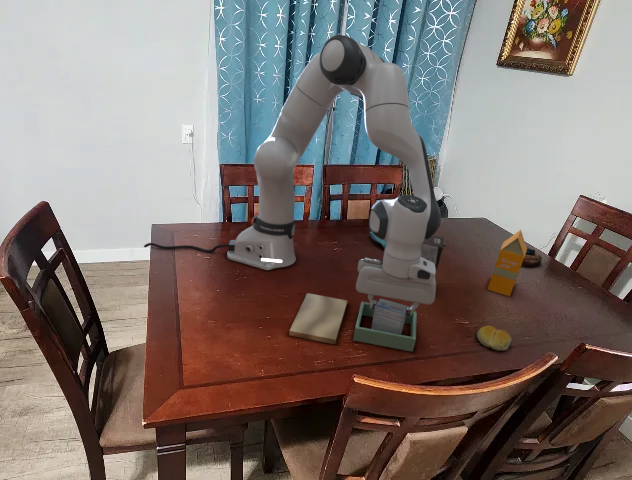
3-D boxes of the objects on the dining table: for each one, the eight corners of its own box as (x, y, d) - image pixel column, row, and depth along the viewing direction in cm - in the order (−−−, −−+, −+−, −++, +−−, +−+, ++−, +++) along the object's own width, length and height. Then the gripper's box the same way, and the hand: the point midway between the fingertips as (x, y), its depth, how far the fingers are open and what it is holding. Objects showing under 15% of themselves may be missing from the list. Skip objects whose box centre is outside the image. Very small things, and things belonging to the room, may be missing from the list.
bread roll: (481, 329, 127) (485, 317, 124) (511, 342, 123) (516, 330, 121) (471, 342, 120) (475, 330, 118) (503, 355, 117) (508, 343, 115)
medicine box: (402, 332, 120) (408, 305, 115) (398, 341, 116) (404, 313, 112) (374, 324, 122) (379, 297, 117) (370, 332, 118) (375, 305, 114)
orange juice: (513, 286, 153) (533, 232, 142) (509, 296, 146) (530, 240, 135) (490, 279, 155) (509, 226, 145) (486, 289, 148) (505, 234, 138)
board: (289, 335, 112) (289, 330, 112) (306, 297, 129) (307, 293, 128) (335, 344, 112) (335, 339, 111) (346, 304, 128) (347, 300, 128)
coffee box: (431, 294, 141) (443, 247, 132) (411, 289, 141) (422, 243, 133) (432, 281, 148) (443, 236, 140) (413, 277, 149) (423, 232, 140)
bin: (353, 340, 114) (355, 327, 112) (359, 313, 126) (361, 301, 123) (412, 351, 113) (415, 339, 111) (413, 323, 125) (416, 311, 122)
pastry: (524, 253, 180) (529, 240, 177) (543, 267, 171) (549, 253, 168) (502, 254, 177) (507, 240, 173) (520, 268, 167) (526, 254, 164)
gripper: (357, 261, 106) (350, 310, 114) (441, 276, 105) (429, 324, 112) (360, 251, 112) (353, 298, 119) (440, 265, 110) (429, 311, 117)
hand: (391, 311), depth 115 cm, fingers closed on medicine box, 8 cm apart
